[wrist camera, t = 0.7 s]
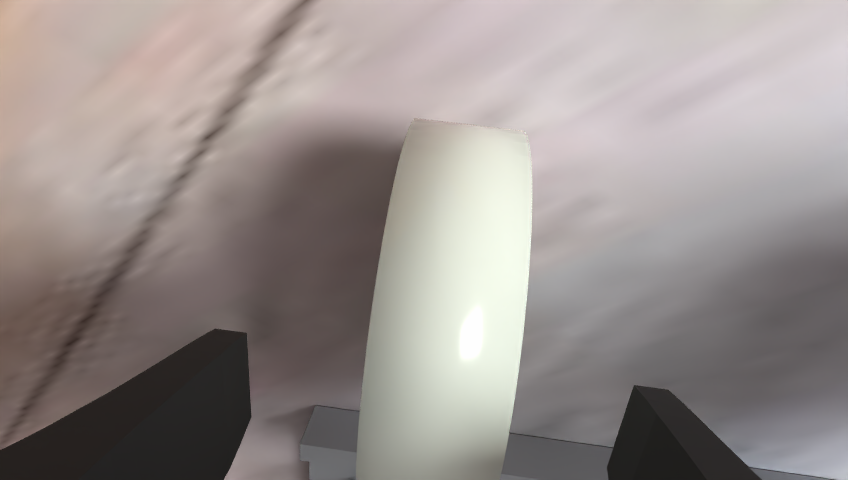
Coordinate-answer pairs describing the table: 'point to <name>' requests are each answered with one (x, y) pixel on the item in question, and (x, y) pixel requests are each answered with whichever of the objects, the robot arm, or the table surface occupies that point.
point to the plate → (448, 306)
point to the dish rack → (522, 468)
